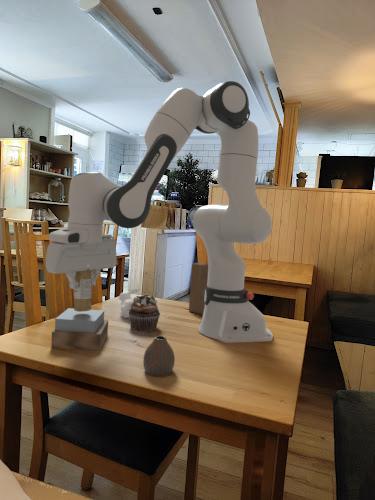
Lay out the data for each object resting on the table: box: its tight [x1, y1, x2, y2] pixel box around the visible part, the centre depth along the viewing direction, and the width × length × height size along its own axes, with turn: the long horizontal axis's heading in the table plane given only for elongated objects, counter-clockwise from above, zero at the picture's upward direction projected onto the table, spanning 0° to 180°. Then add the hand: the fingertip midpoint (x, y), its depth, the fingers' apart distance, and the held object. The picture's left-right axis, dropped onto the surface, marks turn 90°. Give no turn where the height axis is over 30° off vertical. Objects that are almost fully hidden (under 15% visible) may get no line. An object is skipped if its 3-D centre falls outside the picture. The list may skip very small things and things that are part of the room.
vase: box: [142, 335, 176, 378], centre depth 82 cm, size 7×7×9 cm
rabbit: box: [118, 287, 141, 319], centre depth 125 cm, size 10×7×10 cm
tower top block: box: [54, 307, 105, 333], centre depth 98 cm, size 10×10×3 cm
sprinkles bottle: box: [73, 263, 93, 312], centre depth 97 cm, size 5×5×14 cm
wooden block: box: [188, 262, 208, 316], centre depth 134 cm, size 9×4×18 cm, turn 51°
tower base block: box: [50, 319, 109, 351], centre depth 98 cm, size 12×12×5 cm
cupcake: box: [128, 294, 161, 333], centre depth 113 cm, size 10×10×10 cm
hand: (82, 287), depth 97 cm, fingers closed on sprinkles bottle, 4 cm apart
